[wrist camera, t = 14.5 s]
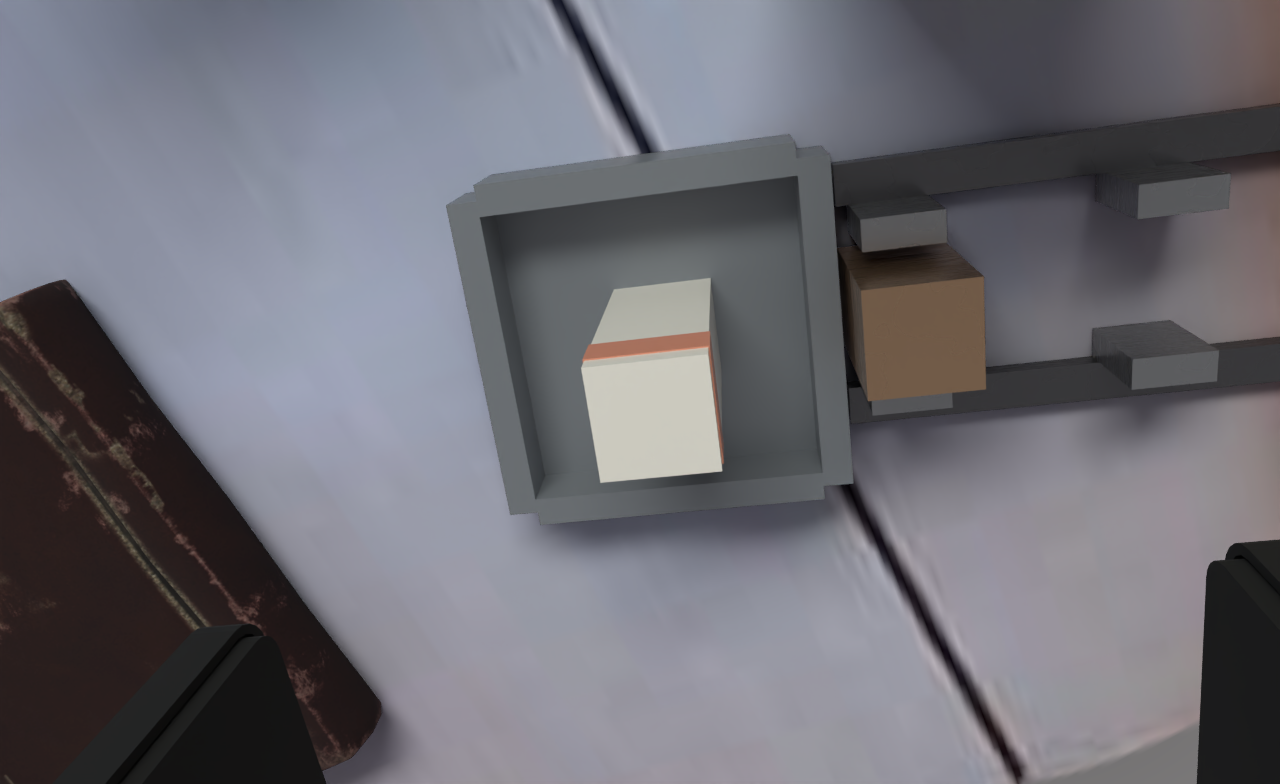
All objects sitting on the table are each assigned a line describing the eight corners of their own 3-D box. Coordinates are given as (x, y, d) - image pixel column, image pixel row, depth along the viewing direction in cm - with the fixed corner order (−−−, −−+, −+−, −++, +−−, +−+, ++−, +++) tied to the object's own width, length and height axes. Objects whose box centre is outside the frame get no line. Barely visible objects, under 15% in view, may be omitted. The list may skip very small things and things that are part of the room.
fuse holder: (1470, 77, 35) (1646, 87, 28) (1429, 358, 38) (1576, 424, 32) (830, 162, 37) (854, 188, 31) (848, 416, 41) (873, 488, 34)
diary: (83, 268, 42) (5, 296, 37) (394, 690, 49) (361, 759, 44) (-204, 447, 46) (-307, 492, 42) (121, 814, 53) (64, 889, 48)
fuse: (711, 276, 39) (709, 352, 29) (722, 371, 40) (723, 472, 31) (612, 288, 39) (579, 366, 30) (626, 381, 41) (599, 484, 31)
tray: (820, 129, 37) (828, 137, 34) (845, 466, 42) (854, 496, 39) (462, 178, 39) (442, 189, 36) (526, 495, 43) (513, 527, 41)
